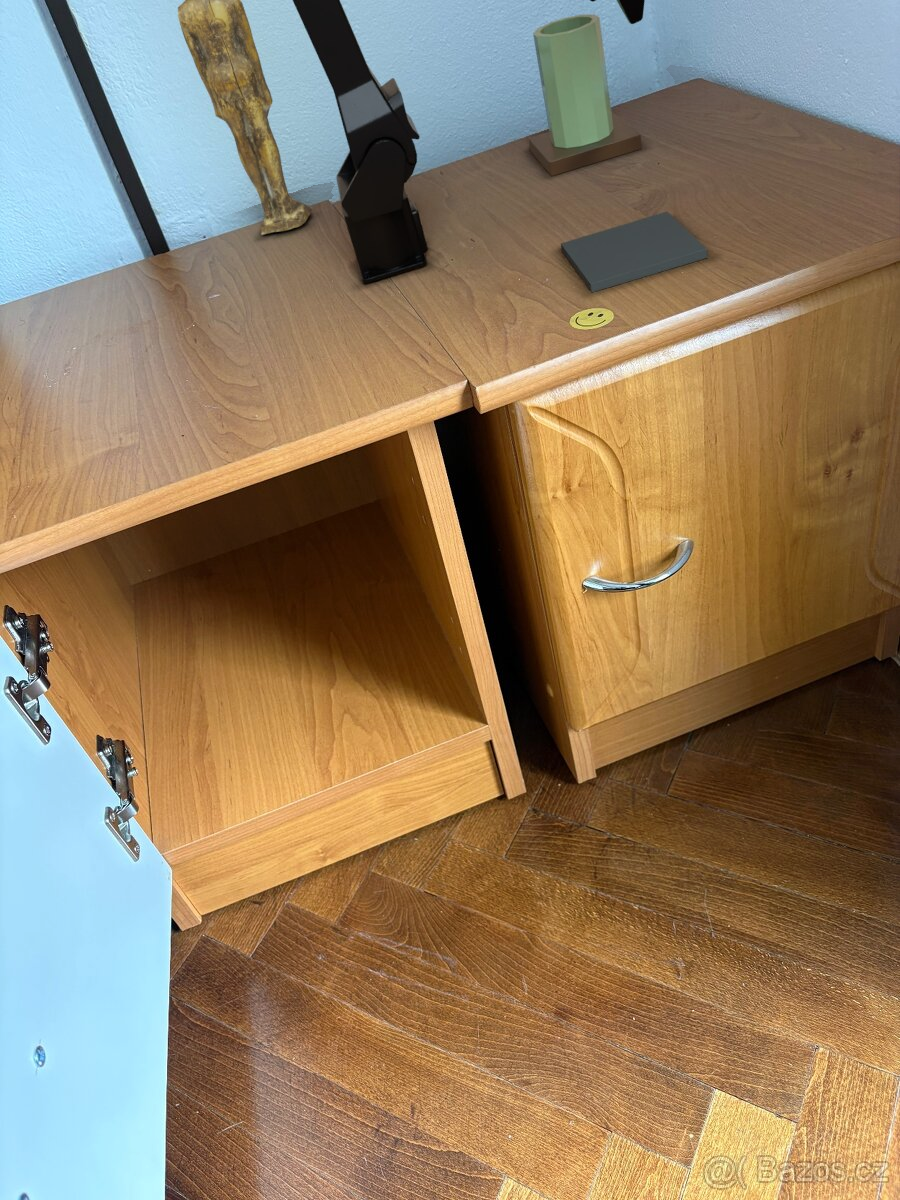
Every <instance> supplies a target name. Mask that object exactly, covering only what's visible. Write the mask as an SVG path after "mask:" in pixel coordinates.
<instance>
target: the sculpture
mask: <svg viewBox="0 0 900 1200" xmlns="http://www.w3.org/2000/svg"><path fill="white" fill-rule="evenodd" d="M177 19H178V21H179V25H180V28H181V32H182V35H183V38H184V40H185V43H186V46H187V48H188V50H189V52H190V55H191V57H192V60H193V62H194V65H195V68H196V70H197V72H198V75H199V77H200V79H201V81H202V83H203V84H204V87H205V89H206V91H207V93H208V96H209V98H210V100H211V103H212V106H213V111H214V115H215V117H217V118H218V119H220V120H222V121H224V122H225V123H226V125H227V126H228V128H229V130H230V132H231V134H232V135H233V138H234V139H233V140H234V142H235V145H236V151H237V154H238V157H239V159H240V163H241V165H242V167H243V169H244V171H245V172H246V175H247V176H248V178H249V180H250V182H251V183H252V185H253V186H254V188H255V190H256V193H257V194H258V197H259V199H260V202H261V206H262V210H263V213H264V214H263V215H264V218H263V220H262V223H261V225H260V226H261V227H260V228H261V229H260V231H261V236H265V235H269V234H273V233H277V232H286V231H289V230H292V229H294V228H299V227H301V226H302V225H303V224H305V223H306V222H307V220H308V218H309V216H310V215H311V213H312V212H313V208H311V206H309V205H307V204H306V203H303V202H302V201H299V200H297V199H294V198H293V197H292V196H291V195H290V193H289V191H288V187H287V184H286V181H285V175H284V172H283V165H282V160H281V154H280V149H279V147H278V143H277V141H276V138H275V137H274V134H273V131H272V129H271V126H270V121H269V112H270V109H271V106H272V104H273V97H272V94H271V90H270V88H269V86H268V84H267V82H266V77H265V75H264V71H263V68H262V63H261V59H260V56H259V52H258V49H257V46H256V43H255V40H254V37H253V33H252V29H251V25H250V22H249V18H248V16H247V13H246V10H245V7H244V4H243V2H242V1H241V0H184V1H183V2H182V3H181V4H180V5H179V6H177Z"/></svg>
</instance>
